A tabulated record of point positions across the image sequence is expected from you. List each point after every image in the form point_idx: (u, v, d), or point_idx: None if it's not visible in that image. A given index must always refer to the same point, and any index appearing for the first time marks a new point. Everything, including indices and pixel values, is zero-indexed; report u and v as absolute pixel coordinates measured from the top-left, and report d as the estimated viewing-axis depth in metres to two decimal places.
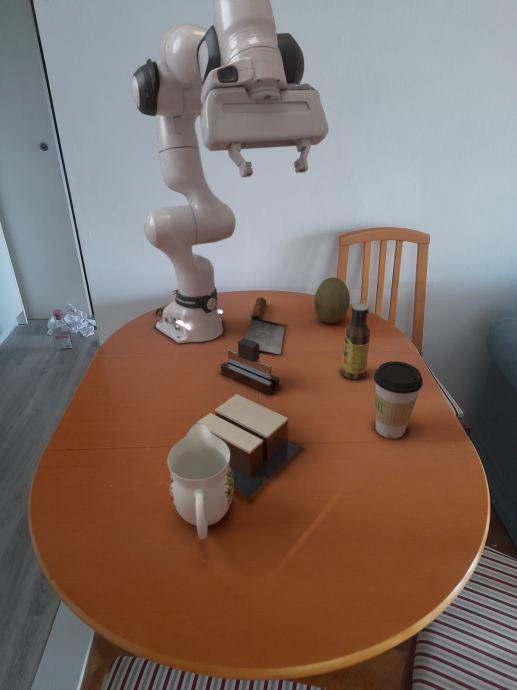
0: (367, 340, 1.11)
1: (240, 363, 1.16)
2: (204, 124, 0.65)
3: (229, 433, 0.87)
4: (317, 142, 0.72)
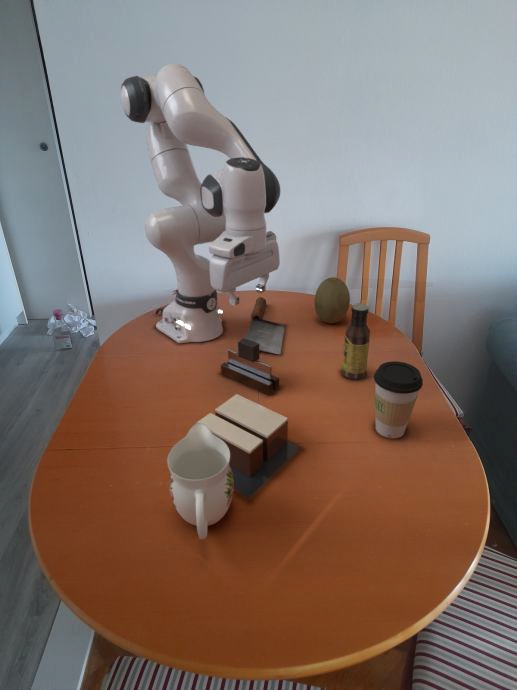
0: (367, 340, 1.11)
1: (240, 363, 1.16)
2: (218, 278, 0.93)
3: (229, 433, 0.87)
4: None
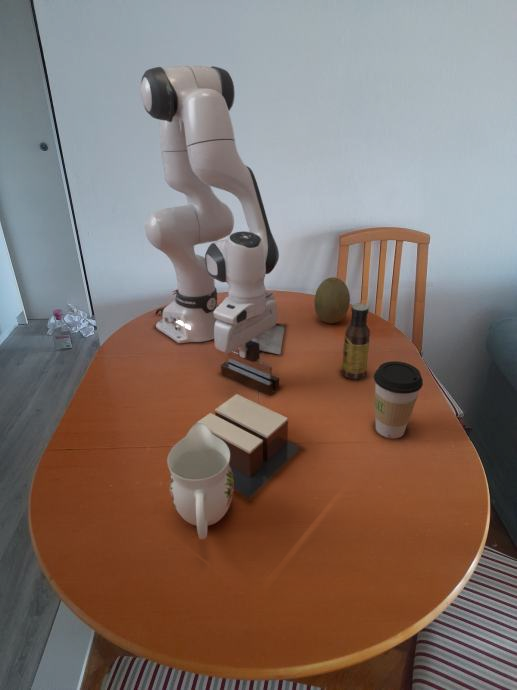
0: (367, 340, 1.11)
1: (240, 363, 1.16)
2: (222, 342, 1.01)
3: (229, 433, 0.87)
4: None
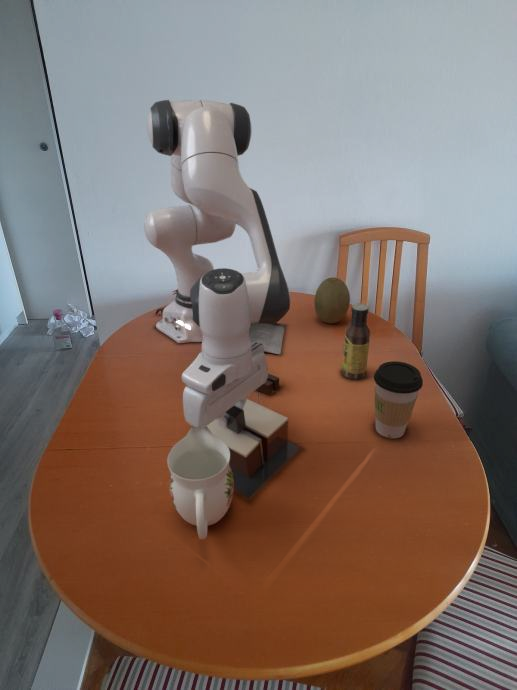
0: (367, 340, 1.11)
1: None
2: (193, 415, 0.76)
3: (225, 436, 0.86)
4: None
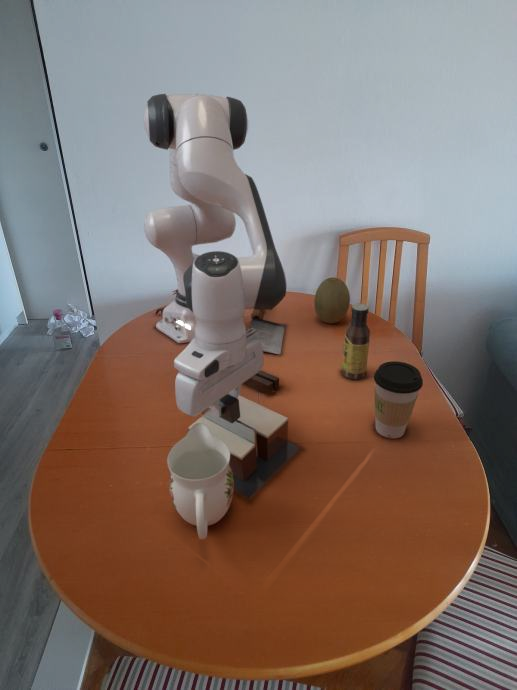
0: (367, 340, 1.11)
1: (216, 420, 0.89)
2: (185, 402, 0.74)
3: (221, 438, 0.86)
4: None
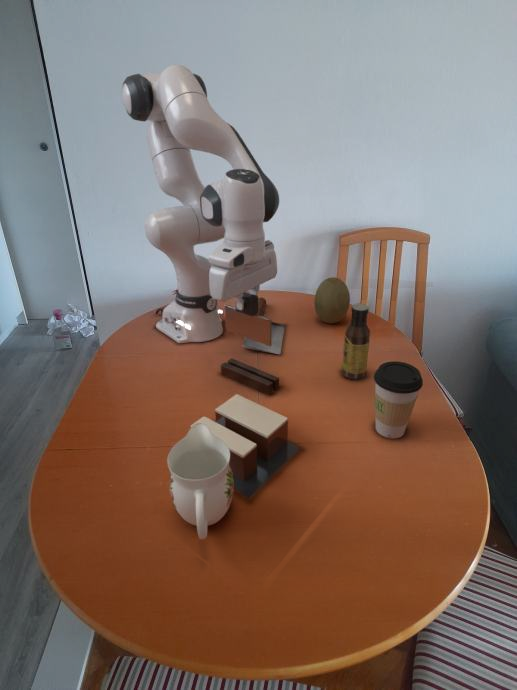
0: (367, 340, 1.11)
1: (237, 319, 1.09)
2: (217, 288, 0.94)
3: (223, 437, 0.86)
4: None
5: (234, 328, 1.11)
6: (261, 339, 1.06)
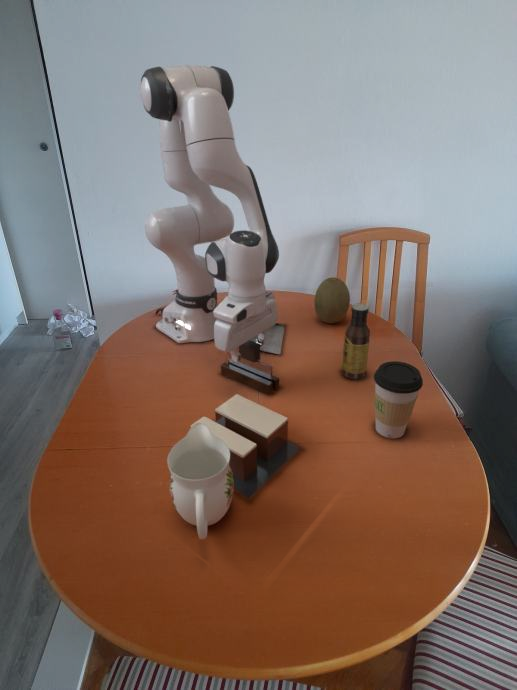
0: (367, 340, 1.11)
1: (240, 363, 1.15)
2: (221, 341, 1.01)
3: (223, 437, 0.86)
4: None
5: None
6: None
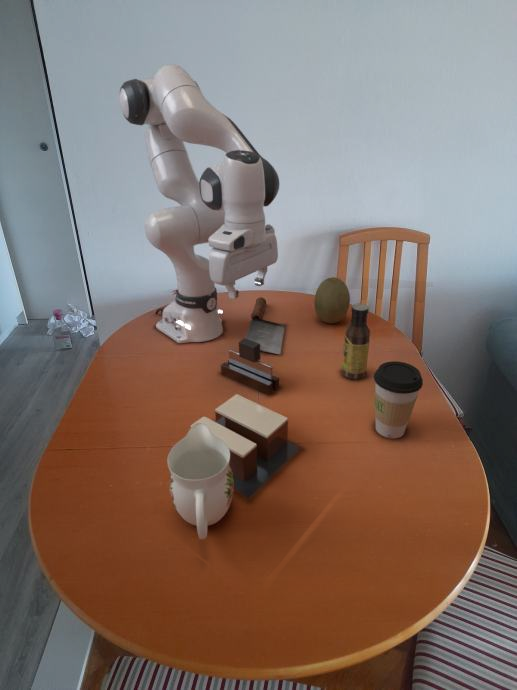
0: (367, 340, 1.11)
1: (240, 363, 1.15)
2: (217, 272, 0.93)
3: (223, 437, 0.86)
4: None
5: None
6: None
